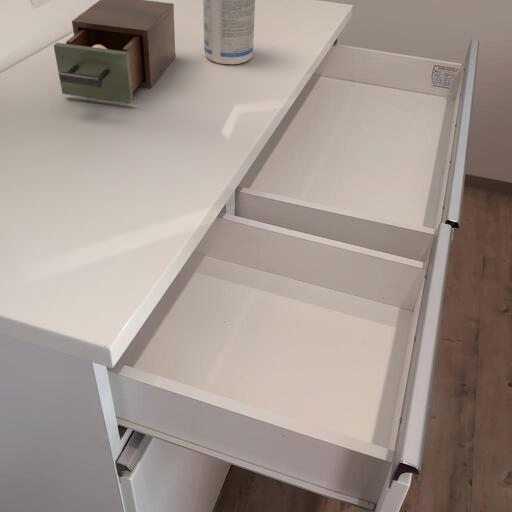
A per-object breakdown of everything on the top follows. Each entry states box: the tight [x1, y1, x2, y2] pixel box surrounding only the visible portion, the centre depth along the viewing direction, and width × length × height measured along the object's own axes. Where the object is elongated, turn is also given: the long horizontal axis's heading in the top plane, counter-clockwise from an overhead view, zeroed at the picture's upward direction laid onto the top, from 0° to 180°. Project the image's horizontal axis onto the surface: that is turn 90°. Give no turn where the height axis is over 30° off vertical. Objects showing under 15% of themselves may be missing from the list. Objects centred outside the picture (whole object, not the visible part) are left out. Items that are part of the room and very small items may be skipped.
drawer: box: [53, 28, 146, 104], centre depth 89 cm, size 19×12×8 cm, turn 170°
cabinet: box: [71, 0, 176, 89], centre depth 97 cm, size 15×13×10 cm
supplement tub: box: [202, 0, 256, 65], centre depth 102 cm, size 10×10×15 cm
